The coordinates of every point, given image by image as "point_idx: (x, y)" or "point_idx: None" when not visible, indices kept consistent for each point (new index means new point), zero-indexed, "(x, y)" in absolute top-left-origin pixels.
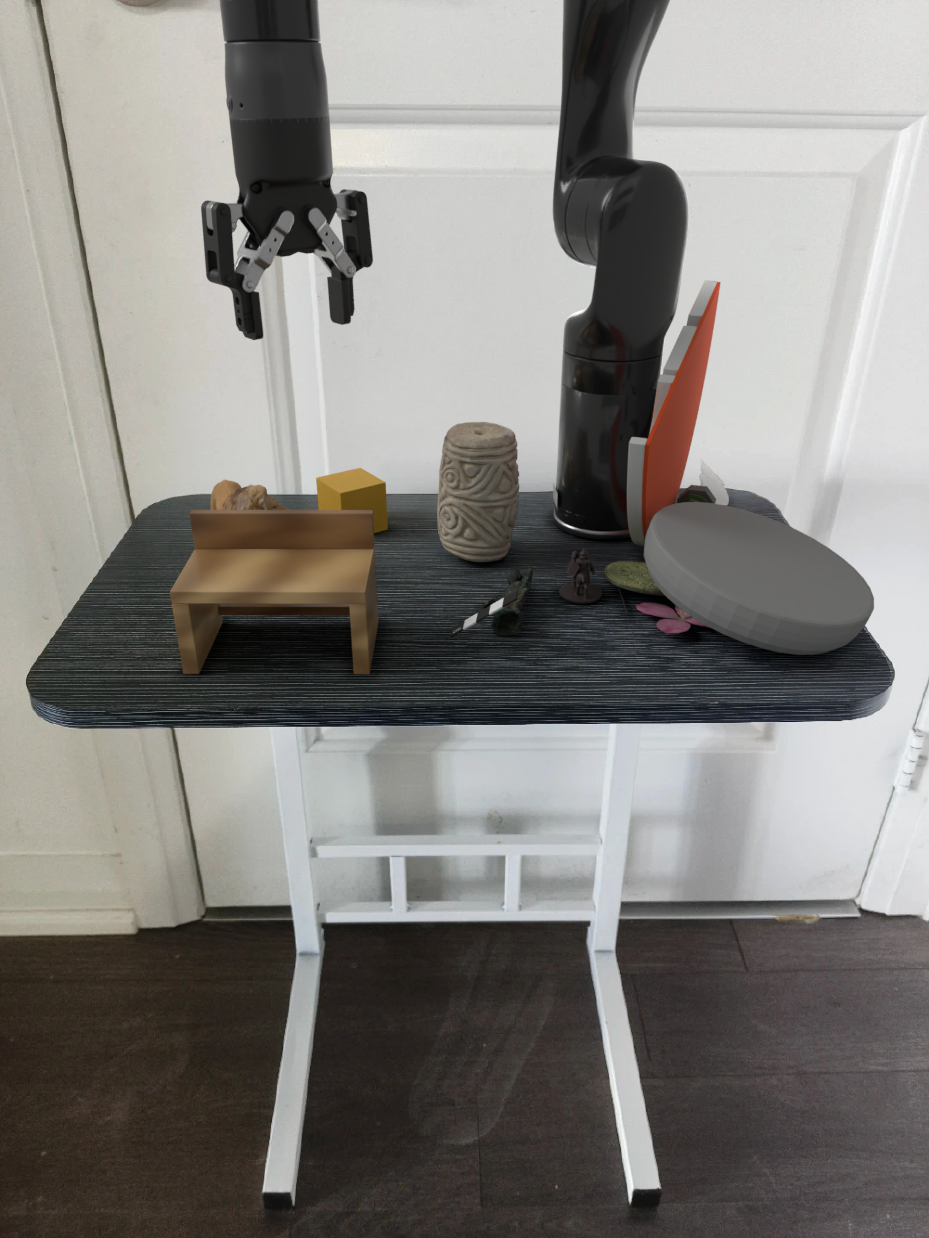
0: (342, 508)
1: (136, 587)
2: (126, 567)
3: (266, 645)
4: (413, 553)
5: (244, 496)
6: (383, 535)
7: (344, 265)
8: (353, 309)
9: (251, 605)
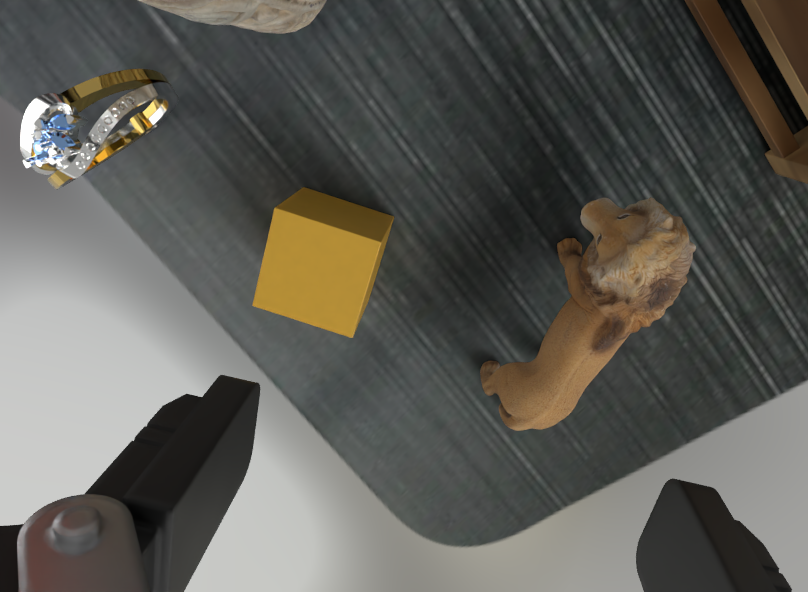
0: (383, 232)
1: (729, 361)
2: (681, 425)
3: None
4: (348, 72)
5: (681, 261)
6: (326, 176)
7: (97, 570)
8: (168, 408)
9: (766, 101)
